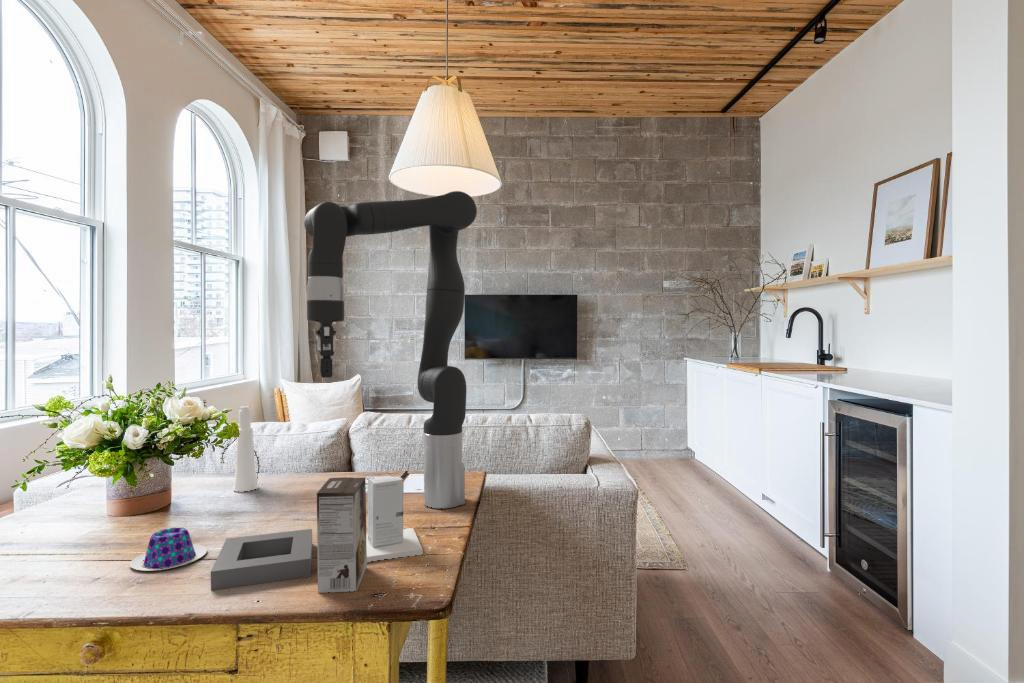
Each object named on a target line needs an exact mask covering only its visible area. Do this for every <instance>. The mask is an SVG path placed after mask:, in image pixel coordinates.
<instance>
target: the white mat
mask: <svg viewBox="0 0 1024 683" xmlns="http://www.w3.org/2000/svg"><path fill="white" fill-rule="evenodd" d="M366 548H367V563H371V561H374V562H378V561H377V560H381V561H385V560H384V559H388V560H393V559H392V558H395V559H399V558H398V557H403V558H408V557H407V556H410V557H415V555H417V556H423V555H424V549H423V547H422V544H421V542H420V540H419V538H418V536H417V534H416V532H415V530H414V527H407V528H403V541H402V542H400V543H394V544H389V545H383V546H377V547H372V545H371V544H370V543H369V541H368V532H366ZM422 554H423V555H422Z"/></svg>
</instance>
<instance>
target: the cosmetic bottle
mask: <svg viewBox="0 0 1024 683" xmlns="http://www.w3.org/2000/svg"><path fill="white" fill-rule="evenodd" d="M239 409H240V410H239V411H238V429H239V433H240V436H239V437H237V436H236V448H235V449H236V450H235V451H236V452H235V470H234V472H235V473H234V481H233V487H232V492H234V491H237V492H236V493H245V492H244V491H248V492H251V491H250V490H253V491H255V490H254V489H256V490H258V488H259V484H258V479H257V472H256V464H255V463H256V462H255V449H254V448H255V446H254V430H253V427H252V426H251V421H252V418H251V417H252V416H251V409H250V406H249V405H242V406H240V407H239ZM238 491H239V492H238Z"/></svg>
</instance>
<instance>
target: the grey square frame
mask: <svg viewBox="0 0 1024 683" xmlns="http://www.w3.org/2000/svg"><path fill="white" fill-rule="evenodd" d="M312 553H313V528H307V529H297V530H291V531H289V530H288V531H282V532H281V531H280V532H274V533H264V534H254V535H253V534H252V535H248V536H245V535H244V536H238V537H237V536H236V537H230V538H225V541H224V543H223V545H222V547H221V549H220V552H219V553H218V555H217V556H216V557H217V558H216V560H215V562H214V563H213V566H212V567H211V570H210V591H213V590H214V591H215V590H221V589H222V590H223V589H229V588H230V589H231V588H235V587H236V588H237V587H242V586H243V587H244V586H250V585H258V584H264V583H271V582H278V581H284V580H285V581H286V580H293V579H300V578H308V577H311V574H312V573H311V572H312V558H313V557H312V556H313V554H312Z"/></svg>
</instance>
